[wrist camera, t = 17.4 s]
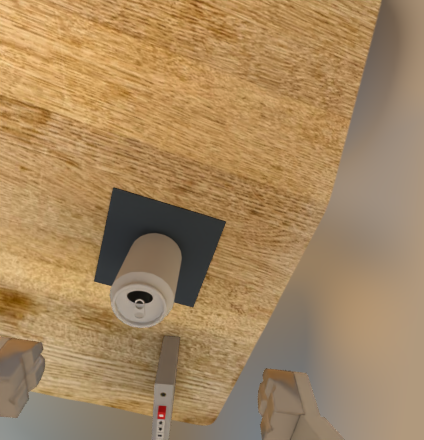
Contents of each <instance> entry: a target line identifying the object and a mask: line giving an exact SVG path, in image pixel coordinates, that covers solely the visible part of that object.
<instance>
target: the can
mask: <svg viewBox="0 0 424 440" xmlns="http://www.w3.org/2000/svg"><path fill="white" fill-rule="evenodd" d="M181 260H182V256H181V251H180V249H179V247H178V245H177V244H176V243H175V242H174V241H173V240H172V239H171V238H169V237H167V236H165V235H162V234H158V233H151V234H146V235H143V236H140V237H139V238H138V239H137V240H135V241H134V243H133V245H132V246H131V248H130V250H129V252H128V254H127V256H126V258H125V260H124V262H123V264H122V266H121V268H120V270H119V272H118V274H117V276H116V278H115V280H114V282H113V284H112V286H111V290H110V299H111V306H112V309H113V312H114V314H115V315H116V317H117V318H118V319H119V320H121V321H122V322H123V323H125V324H127V325H130V326H133V327H138V328H146V327H151V326H154V325H156V324H158V323H159V322H161V321H162V319H163V318H164V317H165V316H167V315H168V314H169V312H170V311H171V309H172V307H173V303H174V299H175V293H176V288H177V282H178V276H179V271H180V265H181Z"/></svg>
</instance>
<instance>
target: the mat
mask: <svg viewBox="0 0 424 440" xmlns="http://www.w3.org/2000/svg"><path fill="white" fill-rule="evenodd" d="M225 223H226V221H222V220H219V219H216V218H212V217H209V216H206V215H203V214H199V213H196V212H193V211H189V210H186V209H183V208H180V207H176V206H173V205H170V204H166V203H163V202H160V201H156V200H153V199H150V198H147V197H143V196H140V195H137V194H133V193H130V192H127V191H123V190H120V189H117V188H113V192H112V196H111V201H110V206H109V211H108V216H107V221H106V226H105V231H104V236H103V241H102V246H101V251H100V255H99V260H98V265H97V270H96V275H95V280H94V281H95V282H98V283H102V284H106V285H110V286H112V284H113V282H114V280H115V278H116V276H117V274H118V272H119V270H120V268H121V266H122V264H123V262H124V260H125V258H126V256H127V254H128V252H129V250H130V248H131V246H132V245H133V243H134V241H135V240H137V239H138V238H139V237H140V236H143V235H146V234H151V233H158V234H162V235H165V236H167V237H169V238H171V239H172V240H173V241H174V242H175V243H176V244H177V245H178V247H179V249H180V251H181V256H182V260H181V265H180V271H179V276H178V282H177V288H176V293H175V299H174V302H175V303H179V304H182V305H186V306H190V307H193V306H194V304H195V301H196V299H197V296H198V293H199V291H200V288H201V286H202V283H203V280H204V278H205V275H206V273H207V270H208V267H209V265H210V262H211V260H212V257H213V254H214V252H215V249H216V247H217V244H218V241H219V239H220V236H221V234H222V231H223V228H224V226H225Z"/></svg>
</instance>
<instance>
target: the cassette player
mask: <svg viewBox="0 0 424 440" xmlns="http://www.w3.org/2000/svg"><path fill="white" fill-rule="evenodd" d="M179 341H180V337H172V336H164V339H163V344H162V349H161V354H160V359H159V364H158V370H157V375H156V380H155V389H154V407H153V425H152V427H153V428H152V440H169V434H170V425H171V418H172V410H173V402H174V393H175V382H176V372H177V361H178V351H179Z"/></svg>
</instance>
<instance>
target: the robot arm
mask: <svg viewBox="0 0 424 440" xmlns="http://www.w3.org/2000/svg"><path fill="white" fill-rule="evenodd" d="M42 351H43V345H42V343H41V342H36V341H29V340H23V339H16V338H8V337H0V417H12V418H17V417H18V416H19V414H20V413H21V411H22V409H23V408H24V406H25V404H26V403H27V401H28V399H29V395H28V392H29V391H31V390H32V389H34V388H35V387H36V386H37V385H38V383H39V381H40V380H41V377H42V375H43V372H44V368H45V359H44V357H43V356H42V355H41V352H42ZM258 409H259V413H260V414H261V416H262V421H261V424H260V427H261V435H262V440H344V438H343V437H342V436H341V435H340V434H339V433H338V432H337V431H336V429H334V427H333V426H332V425H331V424H330V423H329V422H328V421H327V419H326V418H325V417H320V413H319V410H318V407H317V403H316V400H315V397H314V394H313V390H312V388H311V384H310V381H309V378H308V375H307V374H306V373H301V372H292V371H286V370H276V369H267V368H266V369H265V370H264V372H263V382H262V383H260V387H259V390H258Z"/></svg>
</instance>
